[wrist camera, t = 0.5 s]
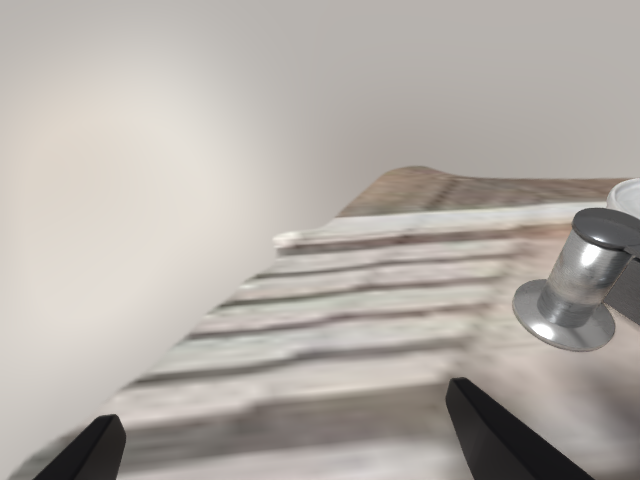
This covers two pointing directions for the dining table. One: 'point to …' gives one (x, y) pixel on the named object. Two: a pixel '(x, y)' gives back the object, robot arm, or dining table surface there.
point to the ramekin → (626, 199)
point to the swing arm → (616, 234)
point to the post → (572, 297)
